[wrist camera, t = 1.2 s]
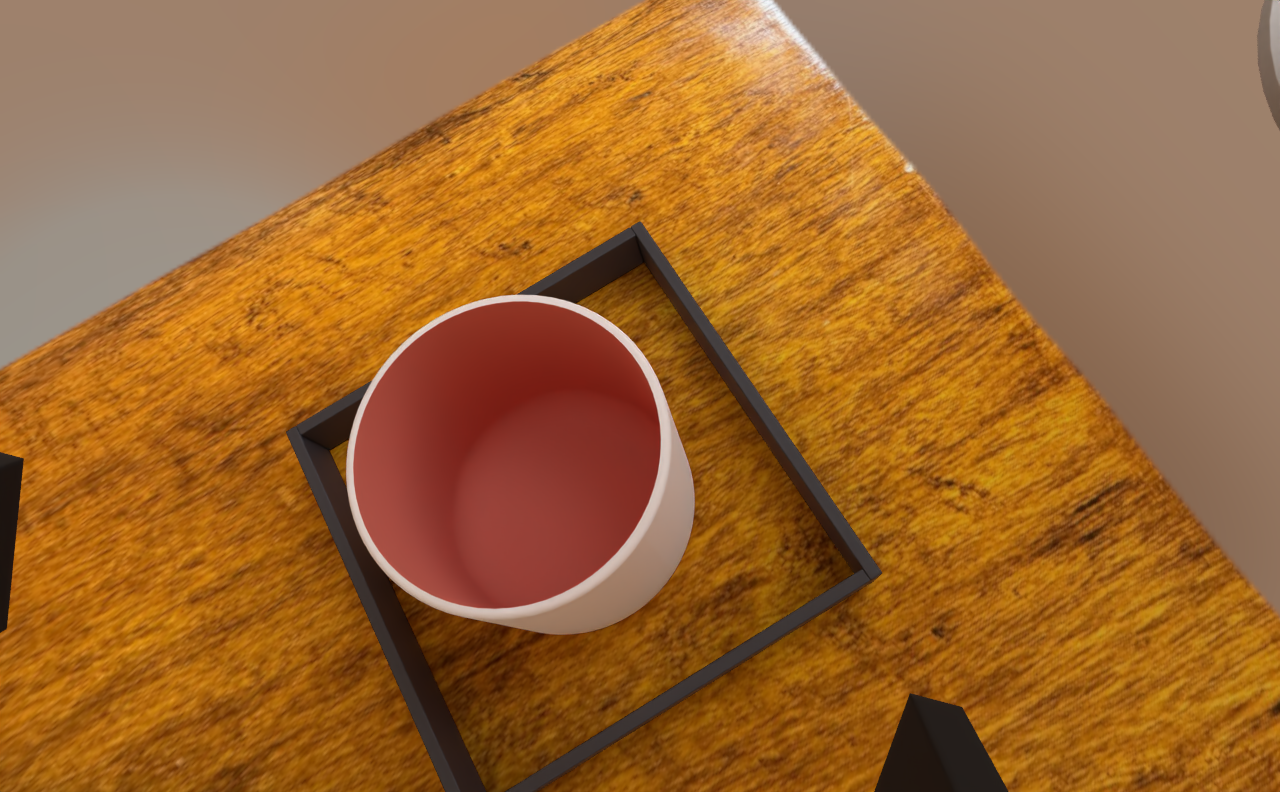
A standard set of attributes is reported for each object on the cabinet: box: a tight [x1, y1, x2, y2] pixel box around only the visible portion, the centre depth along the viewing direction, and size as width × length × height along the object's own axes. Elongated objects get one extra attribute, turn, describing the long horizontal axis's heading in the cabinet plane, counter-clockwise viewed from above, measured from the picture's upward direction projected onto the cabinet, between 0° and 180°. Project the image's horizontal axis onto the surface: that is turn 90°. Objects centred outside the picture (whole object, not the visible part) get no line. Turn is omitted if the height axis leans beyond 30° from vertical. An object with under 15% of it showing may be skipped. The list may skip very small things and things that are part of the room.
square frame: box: [286, 222, 882, 792], centre depth 34 cm, size 17×17×2 cm
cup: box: [346, 295, 695, 635], centre depth 30 cm, size 10×10×10 cm
